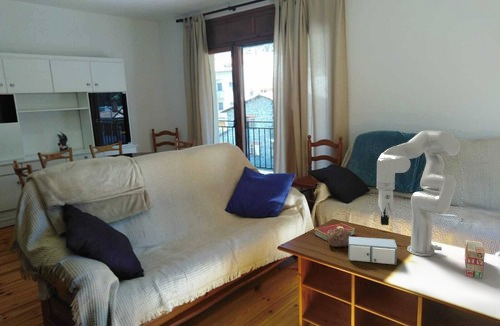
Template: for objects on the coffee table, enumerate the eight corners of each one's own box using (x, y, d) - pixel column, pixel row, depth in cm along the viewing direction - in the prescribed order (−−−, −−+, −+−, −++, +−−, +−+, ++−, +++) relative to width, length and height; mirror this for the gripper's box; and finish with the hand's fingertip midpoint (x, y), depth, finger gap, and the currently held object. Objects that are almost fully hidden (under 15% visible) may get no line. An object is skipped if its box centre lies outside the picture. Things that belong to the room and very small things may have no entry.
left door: (396, 264, 166) (397, 248, 165) (397, 266, 164) (397, 250, 162) (372, 261, 169) (372, 246, 168) (372, 264, 167) (372, 248, 165)
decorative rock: (351, 242, 194) (352, 225, 192) (350, 250, 183) (350, 232, 181) (328, 240, 198) (328, 223, 196) (325, 248, 188) (325, 230, 186)
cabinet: (393, 255, 176) (394, 239, 175) (397, 266, 165) (397, 249, 163) (348, 252, 182) (348, 236, 180) (348, 261, 170) (349, 245, 169)
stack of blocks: (464, 257, 172) (466, 233, 170) (479, 260, 169) (481, 236, 167) (465, 276, 154) (467, 249, 152) (482, 279, 151) (484, 252, 149)
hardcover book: (313, 235, 208) (314, 228, 207) (341, 229, 217) (341, 222, 216) (326, 241, 197) (326, 234, 196) (355, 235, 206) (355, 228, 205)
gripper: (398, 189, 147) (397, 230, 150) (390, 181, 162) (389, 219, 165) (379, 189, 149) (379, 230, 152) (373, 181, 163) (373, 218, 166)
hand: (384, 224), depth 158 cm, fingers closed
